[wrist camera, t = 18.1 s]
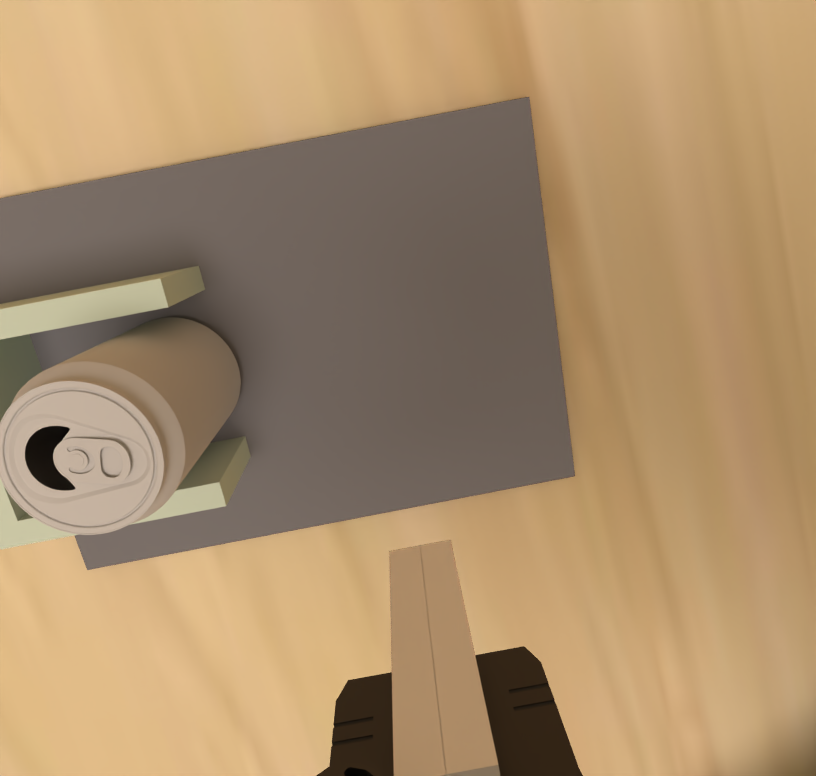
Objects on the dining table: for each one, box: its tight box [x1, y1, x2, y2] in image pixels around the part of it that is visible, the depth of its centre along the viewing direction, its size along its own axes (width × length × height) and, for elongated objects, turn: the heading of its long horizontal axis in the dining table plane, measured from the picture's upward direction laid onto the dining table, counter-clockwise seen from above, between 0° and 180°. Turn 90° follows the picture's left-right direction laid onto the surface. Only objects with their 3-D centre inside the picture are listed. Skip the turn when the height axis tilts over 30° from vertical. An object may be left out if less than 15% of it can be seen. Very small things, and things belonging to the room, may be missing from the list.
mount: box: [0, 97, 575, 570], centre depth 31 cm, size 20×28×7 cm
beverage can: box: [0, 317, 241, 535], centre depth 27 cm, size 6×6×12 cm
